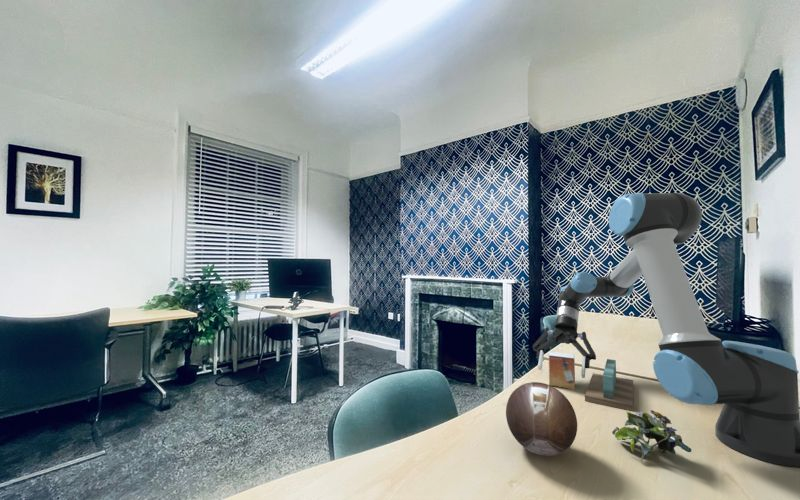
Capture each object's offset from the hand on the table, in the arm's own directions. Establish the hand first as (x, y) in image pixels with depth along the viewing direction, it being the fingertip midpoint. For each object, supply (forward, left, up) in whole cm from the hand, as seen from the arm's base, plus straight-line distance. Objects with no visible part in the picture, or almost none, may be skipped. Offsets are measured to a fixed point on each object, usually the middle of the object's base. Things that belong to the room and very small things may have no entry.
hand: (560, 372), depth 111 cm
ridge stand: (+4, -14, -5) cm, 15 cm away
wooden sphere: (-43, -3, -5) cm, 44 cm away
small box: (+2, 0, -5) cm, 6 cm away
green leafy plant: (-31, -23, -5) cm, 39 cm away
